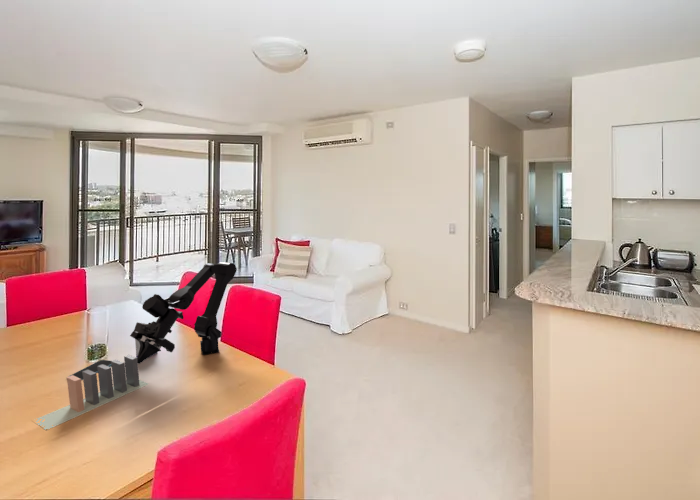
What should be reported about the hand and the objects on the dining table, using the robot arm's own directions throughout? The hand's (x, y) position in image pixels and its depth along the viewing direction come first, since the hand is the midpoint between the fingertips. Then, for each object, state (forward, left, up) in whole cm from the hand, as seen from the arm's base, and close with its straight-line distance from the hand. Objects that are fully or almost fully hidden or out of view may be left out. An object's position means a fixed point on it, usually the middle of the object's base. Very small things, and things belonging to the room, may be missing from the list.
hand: (137, 363), depth 130 cm
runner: (+12, +8, -7) cm, 16 cm away
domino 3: (+9, +6, -7) cm, 13 cm away
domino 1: (+16, +11, -7) cm, 21 cm away
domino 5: (+2, +1, -7) cm, 7 cm away
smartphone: (+17, -18, -8) cm, 26 cm away
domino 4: (+5, +4, -7) cm, 9 cm away
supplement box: (-1, -25, -7) cm, 26 cm away
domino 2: (+12, +9, -7) cm, 17 cm away
